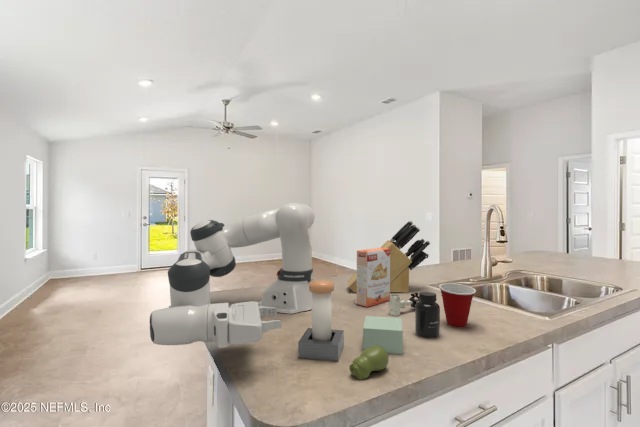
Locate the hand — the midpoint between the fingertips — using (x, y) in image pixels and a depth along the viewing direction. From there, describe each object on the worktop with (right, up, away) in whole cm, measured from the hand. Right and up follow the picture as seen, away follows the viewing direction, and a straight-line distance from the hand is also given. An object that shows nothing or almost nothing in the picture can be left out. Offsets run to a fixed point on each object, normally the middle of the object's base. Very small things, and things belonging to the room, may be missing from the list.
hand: (278, 317), depth 86 cm
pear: (+22, -10, -8) cm, 25 cm away
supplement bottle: (+42, -10, +14) cm, 45 cm away
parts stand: (+28, -10, +6) cm, 30 cm away
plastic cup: (+54, -9, +21) cm, 59 cm away
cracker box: (+31, -9, +47) cm, 57 cm away
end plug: (+11, -10, +3) cm, 15 cm away
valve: (+40, -9, +34) cm, 53 cm away
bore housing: (+11, -10, +3) cm, 15 cm away
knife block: (+41, -8, +66) cm, 78 cm away
